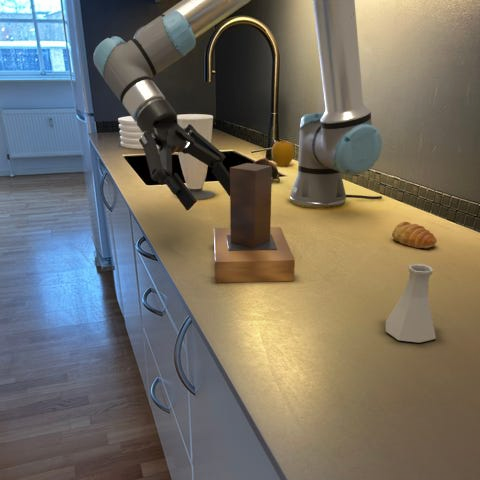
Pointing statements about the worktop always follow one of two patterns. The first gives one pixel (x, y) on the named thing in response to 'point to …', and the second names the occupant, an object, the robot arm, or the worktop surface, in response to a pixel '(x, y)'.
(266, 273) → the wooden slab
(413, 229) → the pastry
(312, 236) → the worktop surface
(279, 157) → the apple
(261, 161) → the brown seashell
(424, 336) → the flask
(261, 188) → the box
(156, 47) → the robot arm
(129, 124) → the plate stack
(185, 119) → the cup
